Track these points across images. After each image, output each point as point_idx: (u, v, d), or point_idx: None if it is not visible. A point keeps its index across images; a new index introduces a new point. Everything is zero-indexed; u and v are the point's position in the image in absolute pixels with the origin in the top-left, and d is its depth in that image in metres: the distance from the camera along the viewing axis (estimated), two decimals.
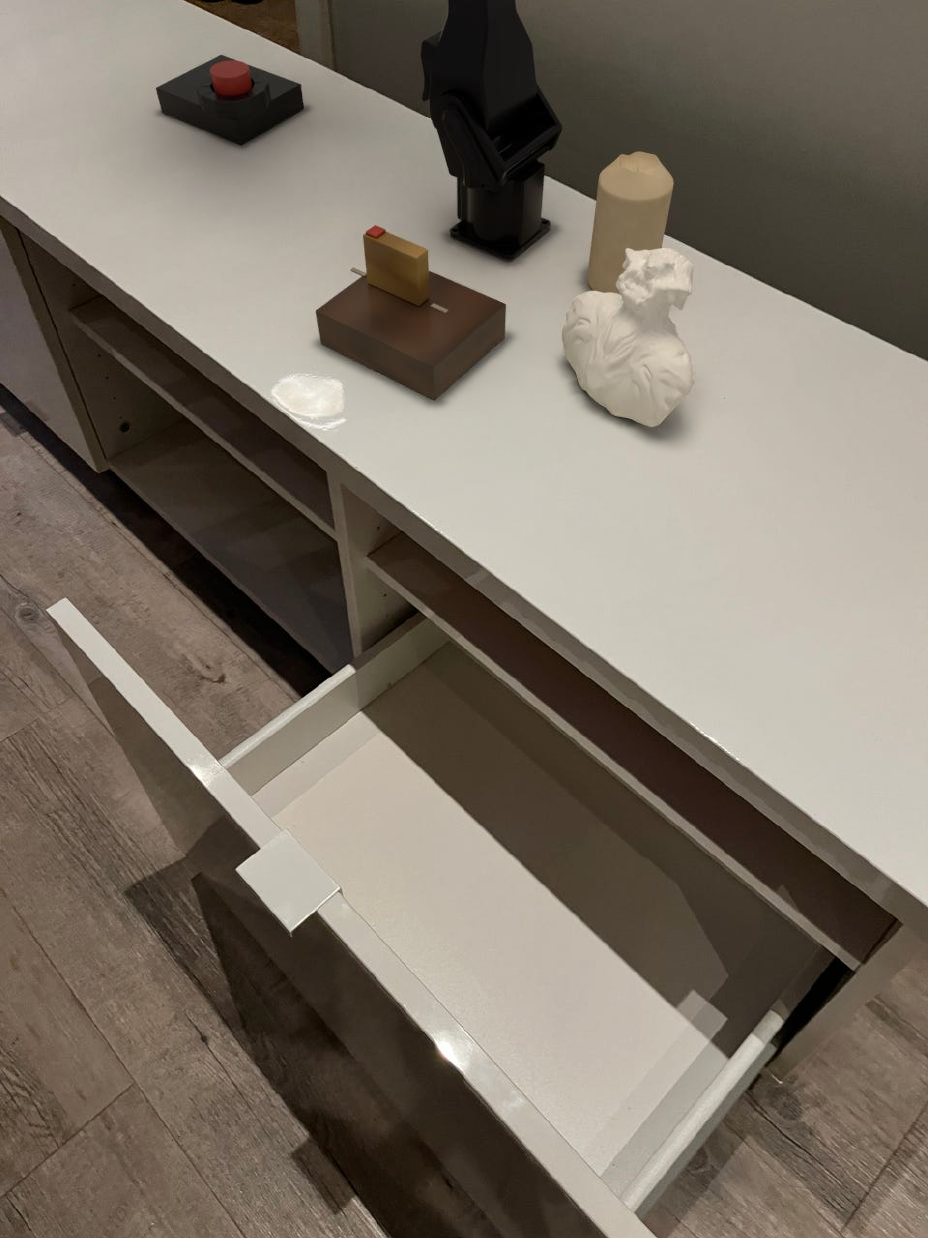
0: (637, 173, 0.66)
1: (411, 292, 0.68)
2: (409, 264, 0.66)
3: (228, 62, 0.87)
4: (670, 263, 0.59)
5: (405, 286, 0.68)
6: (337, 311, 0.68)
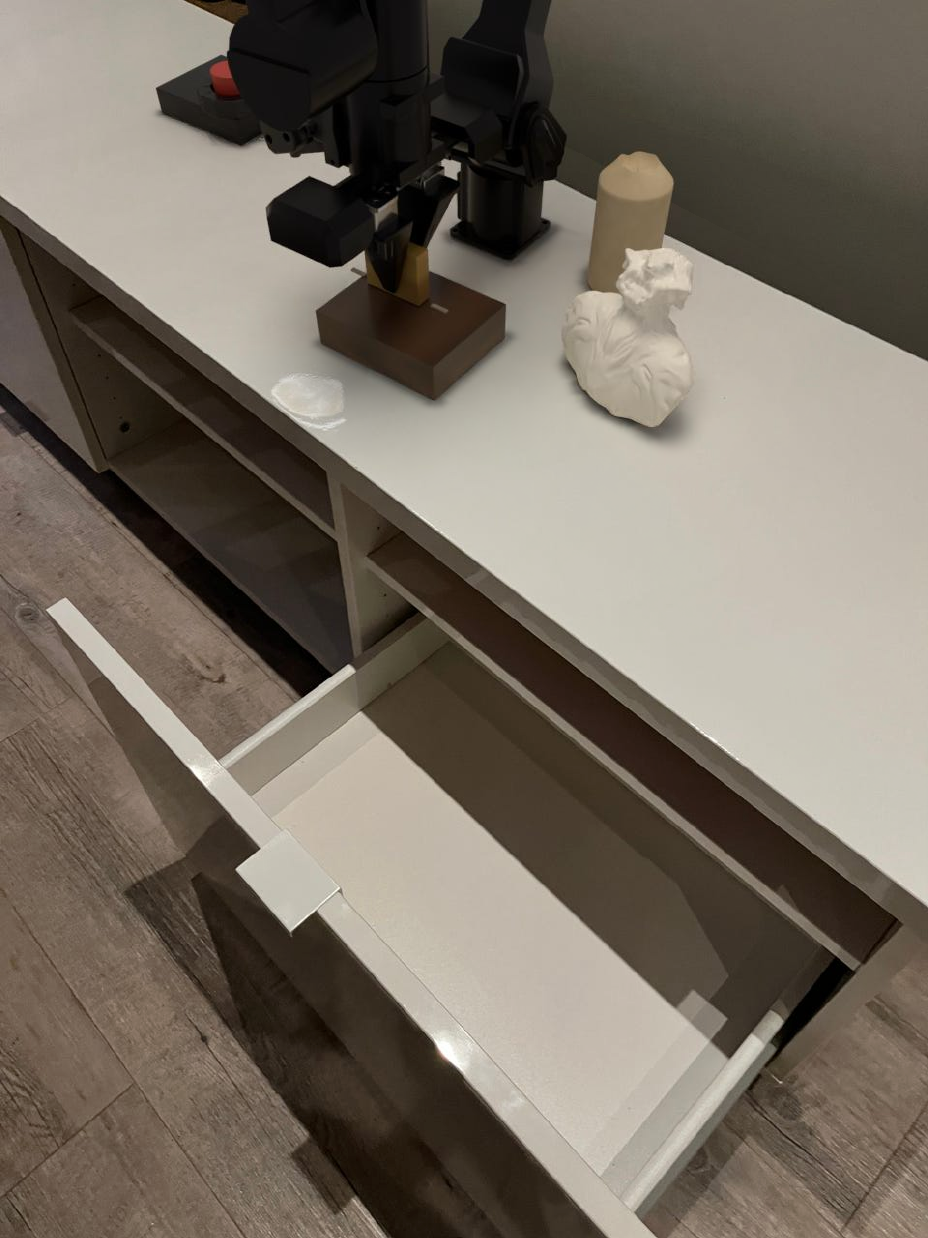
0: (637, 173, 0.66)
1: (411, 292, 0.68)
2: (409, 264, 0.66)
3: None
4: (670, 263, 0.59)
5: (405, 286, 0.68)
6: (337, 311, 0.68)
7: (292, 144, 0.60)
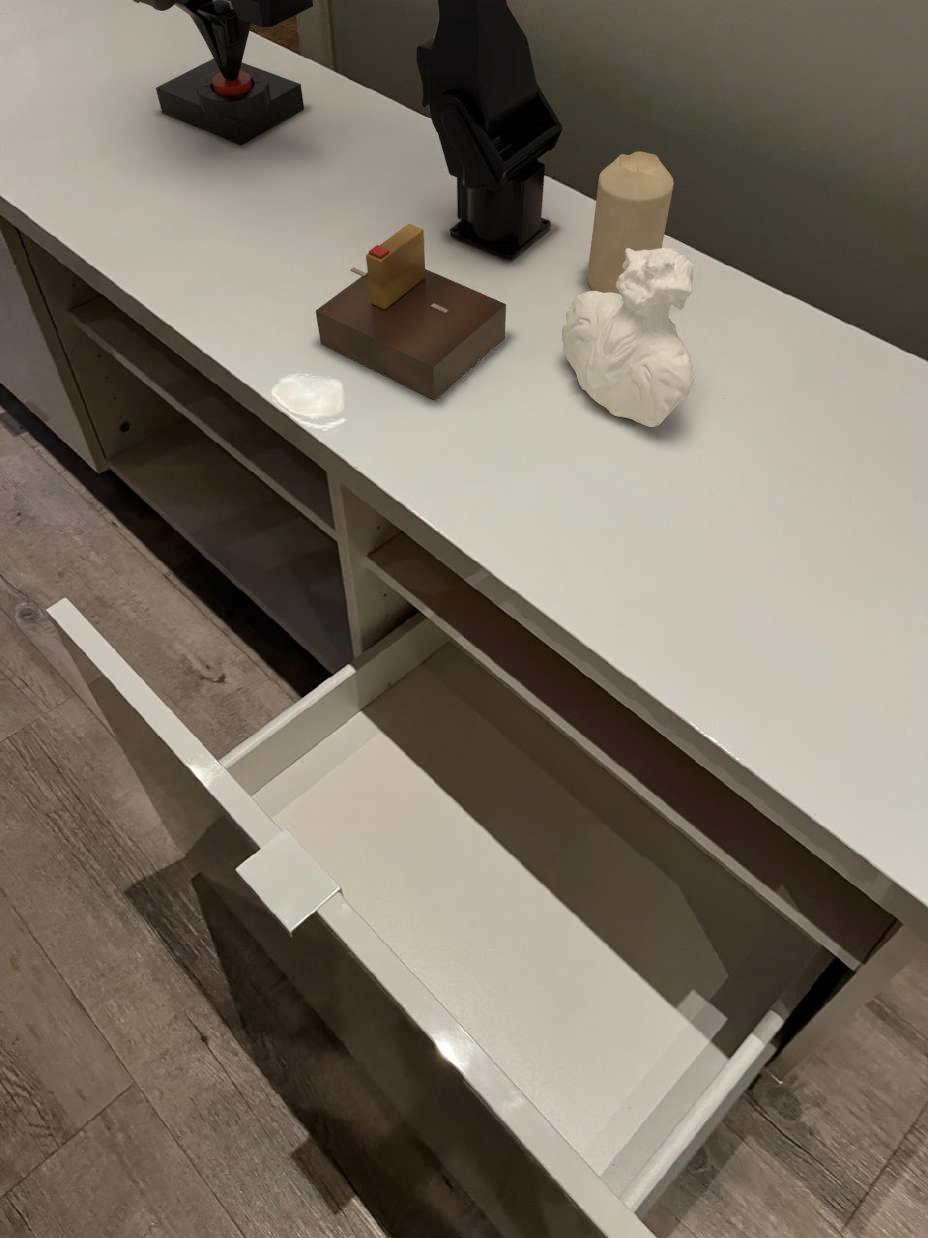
0: (637, 173, 0.66)
1: (420, 270, 0.69)
2: (418, 242, 0.68)
3: None
4: (670, 263, 0.59)
5: (416, 270, 0.69)
6: (337, 311, 0.68)
7: None
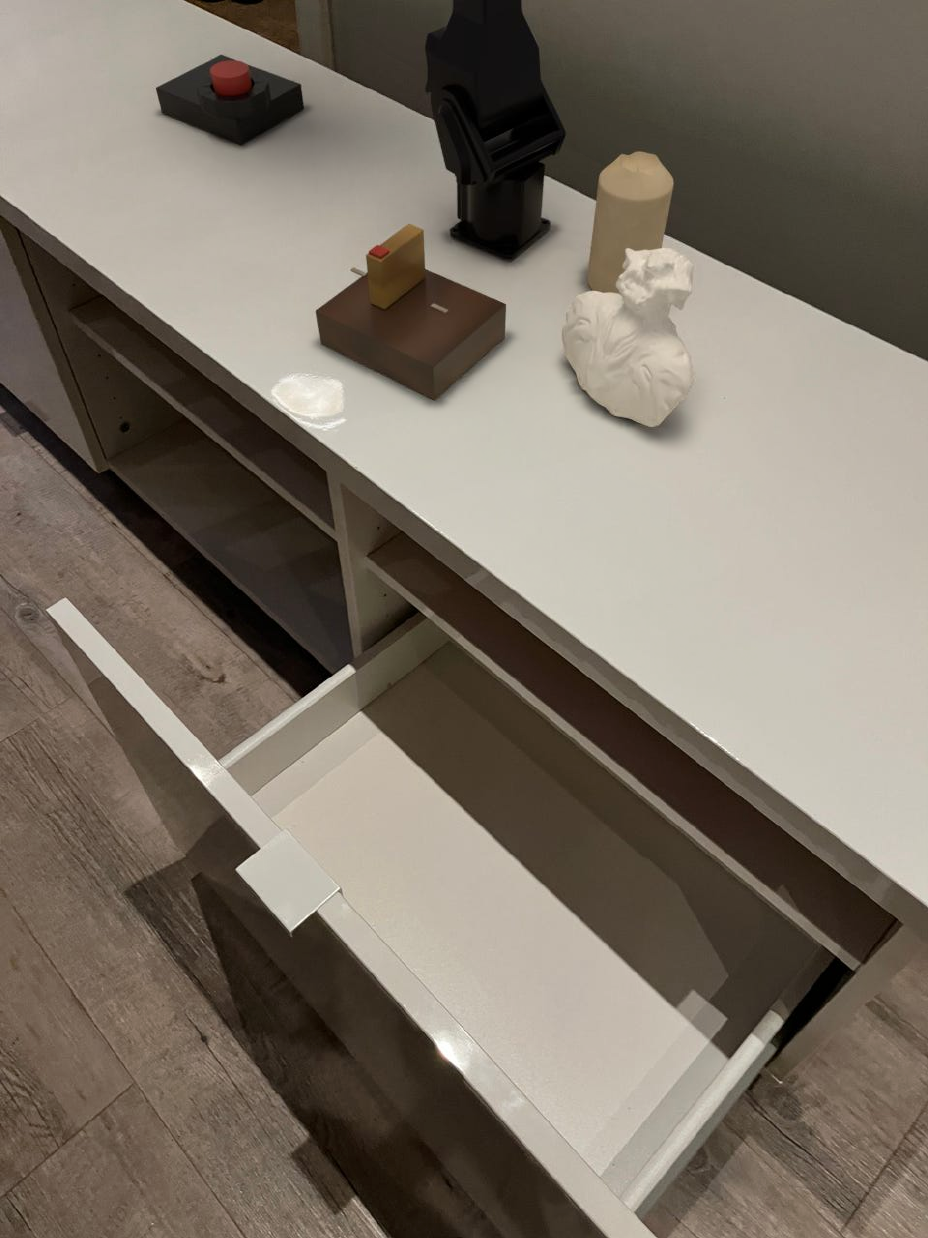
0: (637, 173, 0.66)
1: (420, 270, 0.69)
2: (418, 242, 0.68)
3: (228, 62, 0.87)
4: (670, 263, 0.59)
5: (416, 270, 0.69)
6: (337, 311, 0.68)
7: None
